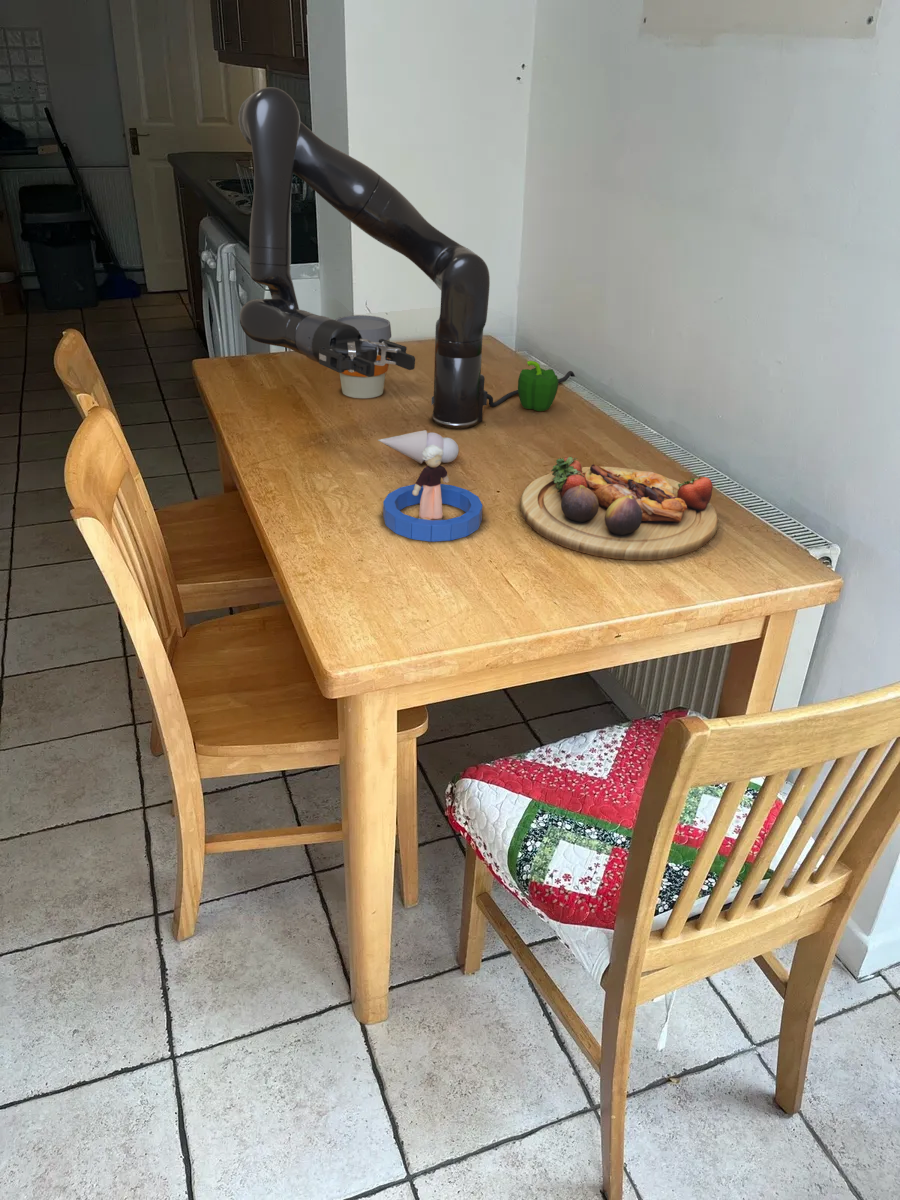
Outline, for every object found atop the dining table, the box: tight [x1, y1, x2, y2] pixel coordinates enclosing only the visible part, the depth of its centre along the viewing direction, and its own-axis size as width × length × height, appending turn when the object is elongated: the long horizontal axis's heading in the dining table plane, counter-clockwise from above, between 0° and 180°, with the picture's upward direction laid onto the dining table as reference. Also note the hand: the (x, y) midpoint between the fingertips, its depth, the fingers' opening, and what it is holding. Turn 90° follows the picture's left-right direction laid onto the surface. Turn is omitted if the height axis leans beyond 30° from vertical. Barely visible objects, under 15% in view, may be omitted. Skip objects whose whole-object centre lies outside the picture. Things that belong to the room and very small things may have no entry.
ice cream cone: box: [377, 429, 460, 464], centre depth 164 cm, size 6×6×15 cm
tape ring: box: [382, 483, 484, 543], centre depth 145 cm, size 16×16×3 cm
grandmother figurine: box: [412, 444, 450, 520], centre depth 143 cm, size 8×4×13 cm, turn 147°
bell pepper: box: [517, 360, 559, 412], centre depth 191 cm, size 8×8×10 cm
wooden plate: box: [519, 456, 719, 561], centre depth 147 cm, size 32×32×8 cm
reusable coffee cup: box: [334, 314, 392, 399], centre depth 195 cm, size 13×13×15 cm
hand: (393, 367), depth 142 cm, fingers open, 8 cm apart
